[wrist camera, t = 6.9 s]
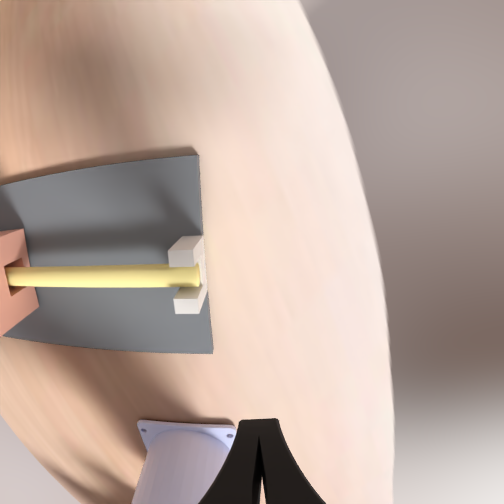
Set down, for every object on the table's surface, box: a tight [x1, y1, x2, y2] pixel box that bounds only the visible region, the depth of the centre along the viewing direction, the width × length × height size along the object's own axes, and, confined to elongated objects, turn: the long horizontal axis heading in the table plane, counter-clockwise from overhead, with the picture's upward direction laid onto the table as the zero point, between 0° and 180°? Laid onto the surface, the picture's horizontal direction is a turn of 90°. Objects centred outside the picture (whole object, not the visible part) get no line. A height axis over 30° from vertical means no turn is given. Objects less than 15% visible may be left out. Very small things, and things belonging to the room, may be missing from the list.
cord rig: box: [0, 155, 214, 354], centre depth 16 cm, size 12×25×4 cm, turn 92°
